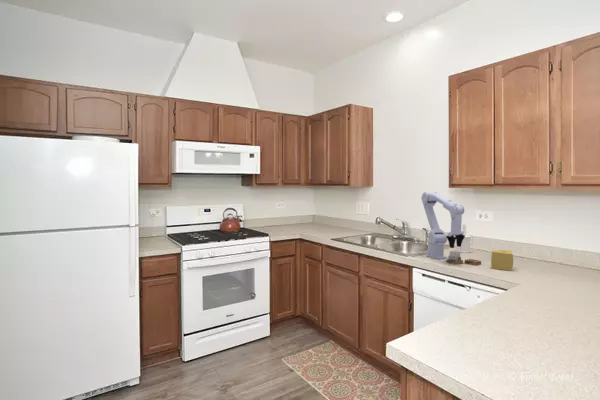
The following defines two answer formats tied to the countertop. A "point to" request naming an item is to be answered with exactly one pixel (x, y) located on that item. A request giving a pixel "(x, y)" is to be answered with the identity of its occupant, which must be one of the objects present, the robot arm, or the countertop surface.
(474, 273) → the countertop surface
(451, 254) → the block
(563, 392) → the countertop surface
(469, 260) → the stand
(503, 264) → the cheese
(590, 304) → the countertop surface
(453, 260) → the stand
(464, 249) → the white bottle
